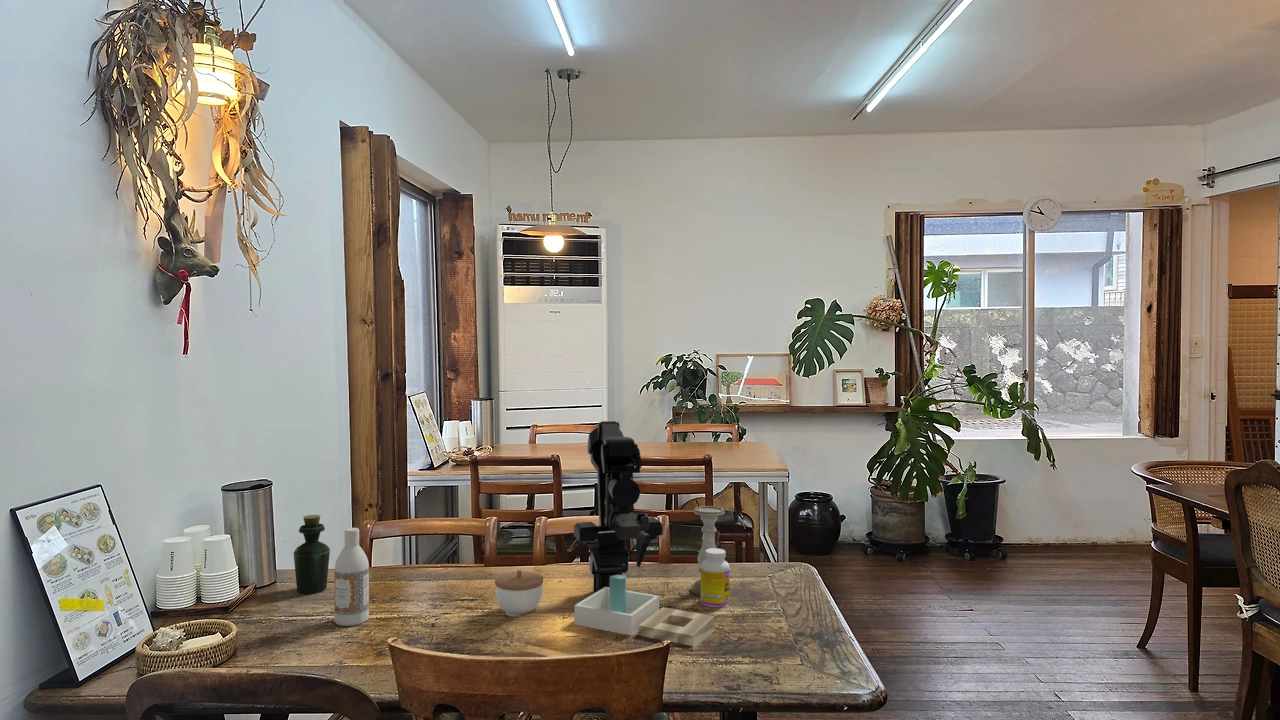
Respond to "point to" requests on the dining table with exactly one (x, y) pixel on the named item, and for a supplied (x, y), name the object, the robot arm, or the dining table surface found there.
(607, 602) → the open box
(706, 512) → the candle holder
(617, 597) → the peg
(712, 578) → the supplement bottle
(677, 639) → the bore plate
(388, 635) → the dining table surface
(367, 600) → the bath foam
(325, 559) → the potion bottle
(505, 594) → the lidded jar
